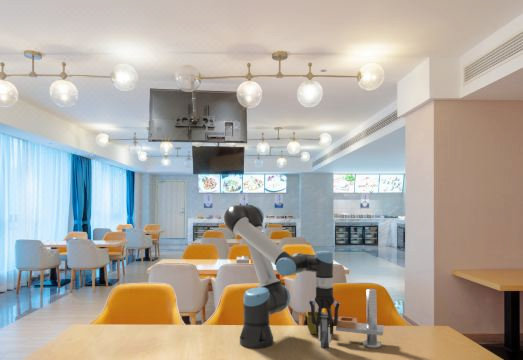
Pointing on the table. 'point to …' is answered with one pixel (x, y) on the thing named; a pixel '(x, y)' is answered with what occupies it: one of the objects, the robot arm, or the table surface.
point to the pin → (324, 330)
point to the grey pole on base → (370, 328)
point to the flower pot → (310, 325)
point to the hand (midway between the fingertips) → (324, 340)
